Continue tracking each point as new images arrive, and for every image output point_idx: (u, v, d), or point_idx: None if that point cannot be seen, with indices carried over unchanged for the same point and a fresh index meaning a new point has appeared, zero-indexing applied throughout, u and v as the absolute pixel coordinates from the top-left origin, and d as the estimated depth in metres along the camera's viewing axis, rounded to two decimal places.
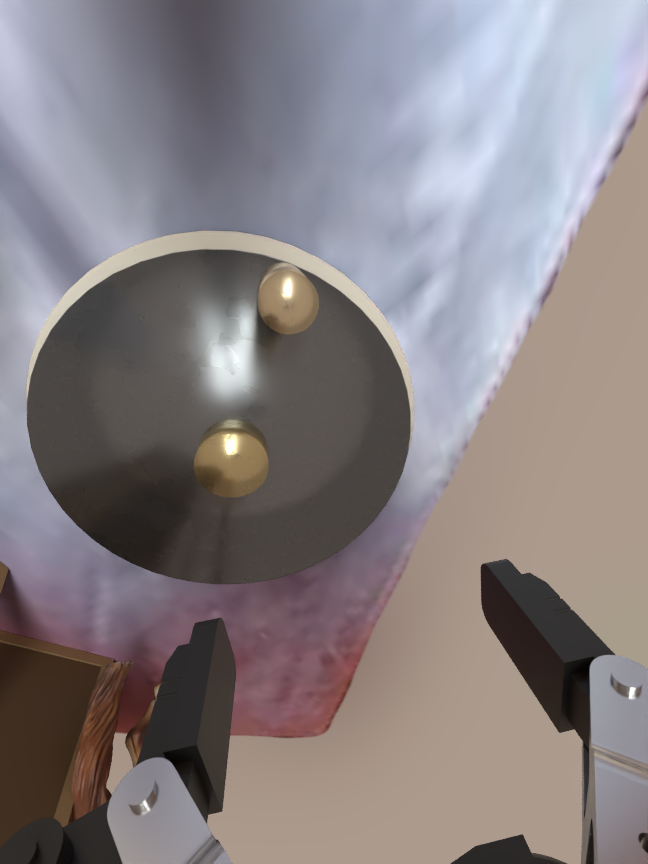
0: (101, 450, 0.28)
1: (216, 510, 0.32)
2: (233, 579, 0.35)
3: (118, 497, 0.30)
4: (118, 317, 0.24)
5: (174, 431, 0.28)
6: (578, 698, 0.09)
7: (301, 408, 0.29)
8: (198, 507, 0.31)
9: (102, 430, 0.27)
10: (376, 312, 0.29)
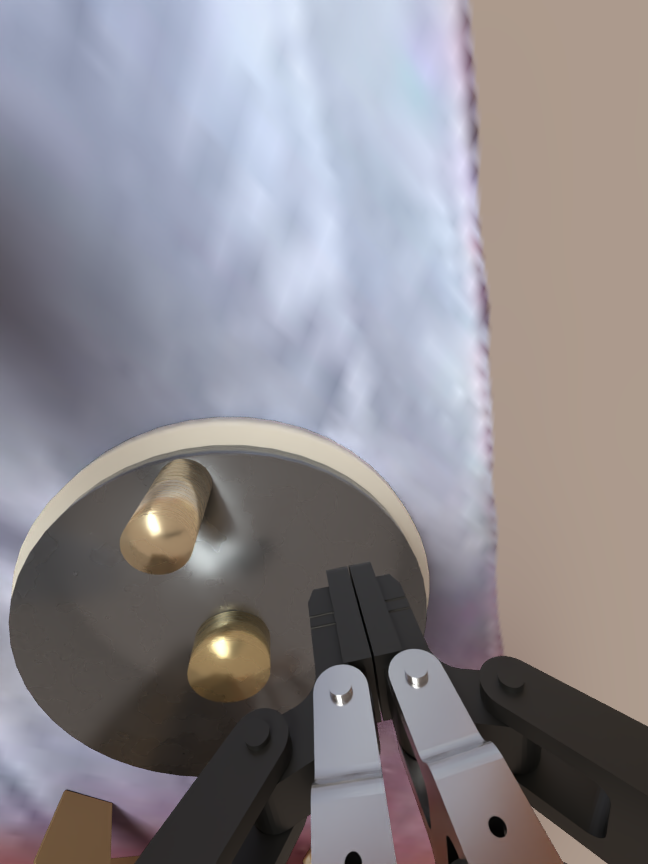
0: (113, 696, 0.27)
1: (251, 699, 0.29)
2: None
3: (153, 727, 0.29)
4: (56, 584, 0.24)
5: (166, 651, 0.26)
6: (387, 688, 0.09)
7: (274, 574, 0.26)
8: (232, 704, 0.29)
9: (102, 680, 0.27)
10: (300, 440, 0.25)
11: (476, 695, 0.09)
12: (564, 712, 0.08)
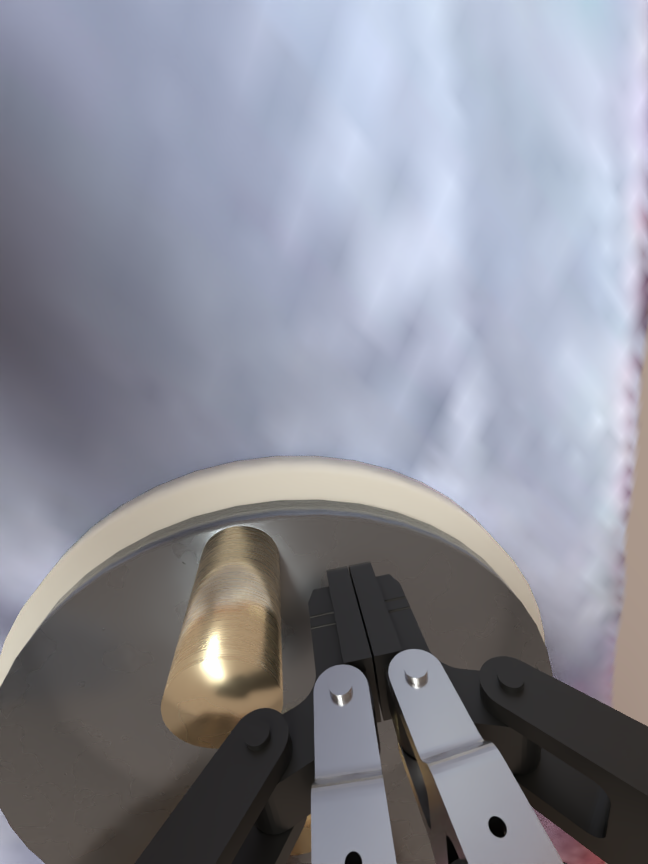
0: (130, 833, 0.20)
1: None
2: None
3: None
4: (54, 698, 0.17)
5: None
6: (387, 688, 0.09)
7: None
8: None
9: (116, 814, 0.19)
10: (396, 491, 0.18)
11: (476, 695, 0.09)
12: (564, 712, 0.08)
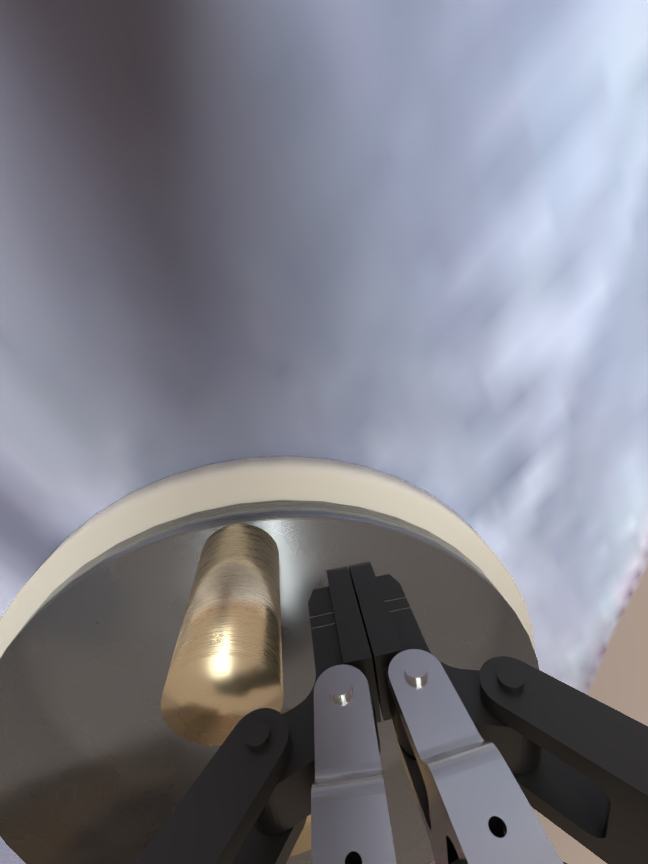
0: (111, 831, 0.20)
1: None
2: None
3: None
4: (43, 690, 0.17)
5: (190, 775, 0.19)
6: (387, 688, 0.09)
7: None
8: None
9: (99, 812, 0.19)
10: (465, 533, 0.19)
11: (476, 695, 0.09)
12: (564, 712, 0.08)
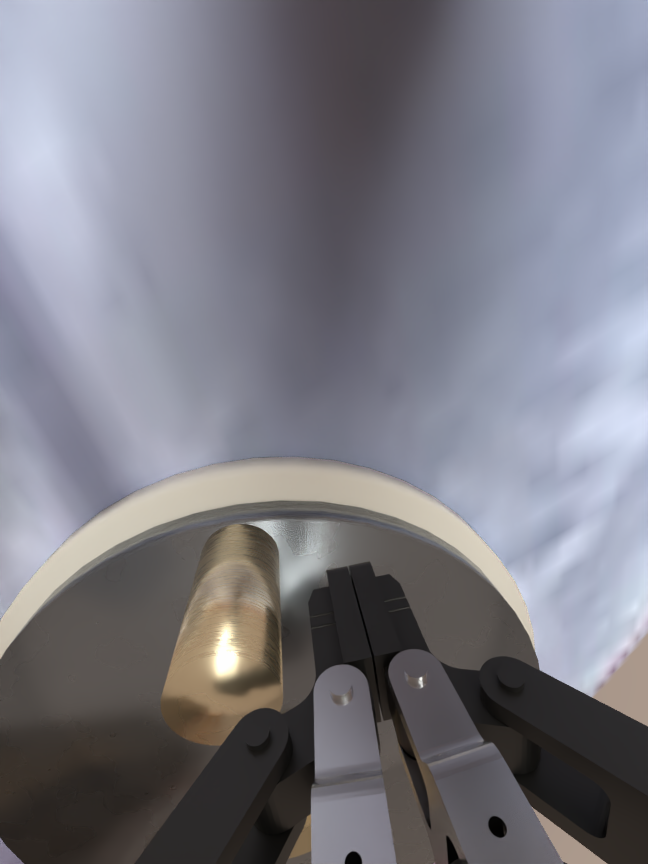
0: (111, 832, 0.20)
1: None
2: None
3: None
4: (43, 691, 0.17)
5: (190, 776, 0.19)
6: (387, 688, 0.09)
7: None
8: None
9: (98, 813, 0.19)
10: (508, 580, 0.20)
11: (476, 695, 0.09)
12: (564, 712, 0.08)
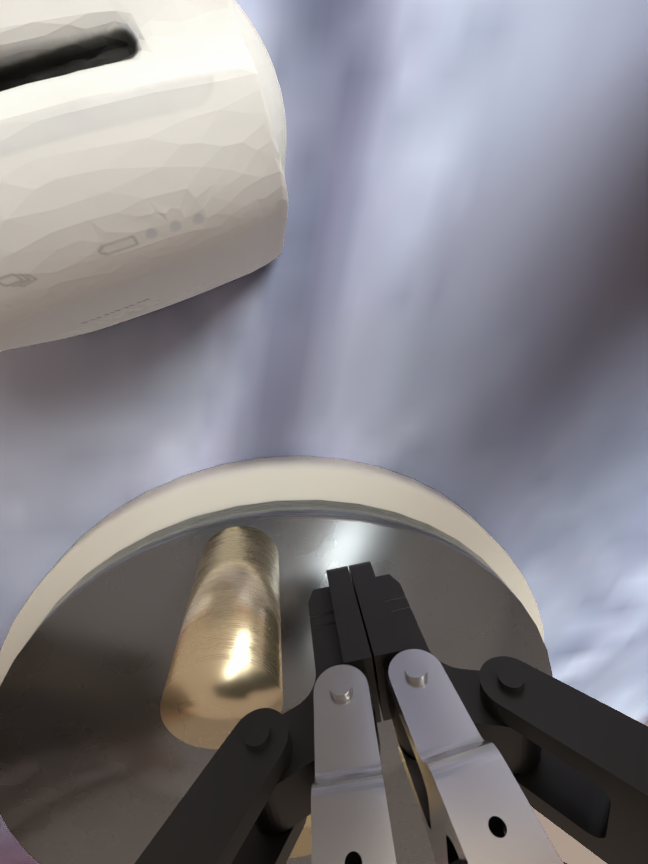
0: (129, 836, 0.20)
1: None
2: None
3: None
4: (53, 700, 0.17)
5: None
6: (387, 688, 0.09)
7: None
8: None
9: (116, 817, 0.19)
10: None
11: (476, 695, 0.09)
12: (564, 712, 0.08)
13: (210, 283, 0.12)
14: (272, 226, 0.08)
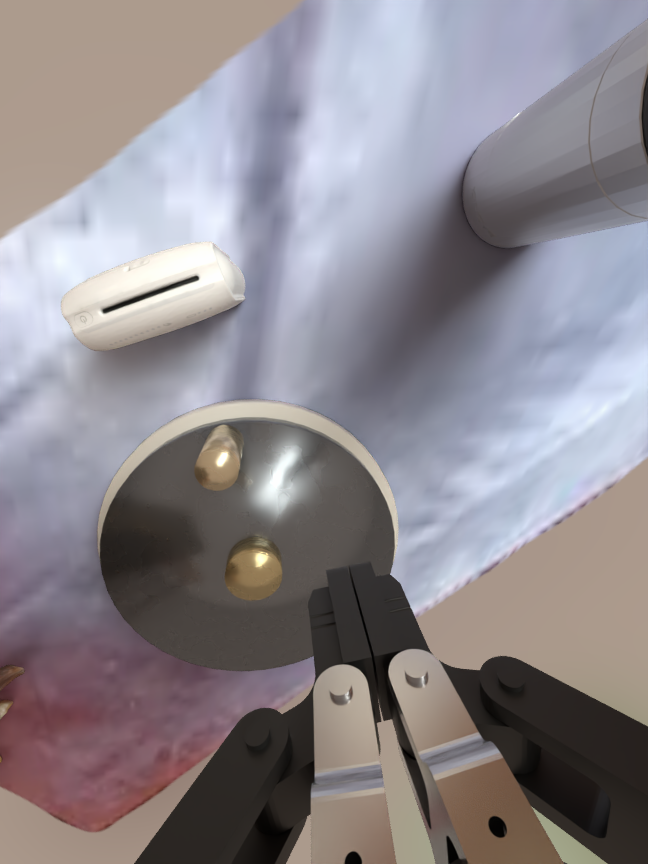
0: (167, 600, 0.38)
1: (266, 607, 0.39)
2: (309, 653, 0.42)
3: (195, 627, 0.39)
4: (134, 513, 0.34)
5: (207, 566, 0.37)
6: (387, 688, 0.09)
7: (285, 509, 0.36)
8: (252, 610, 0.39)
9: (161, 587, 0.37)
10: (396, 528, 0.41)
11: (476, 695, 0.09)
12: (564, 712, 0.08)
13: None
14: (232, 304, 0.26)
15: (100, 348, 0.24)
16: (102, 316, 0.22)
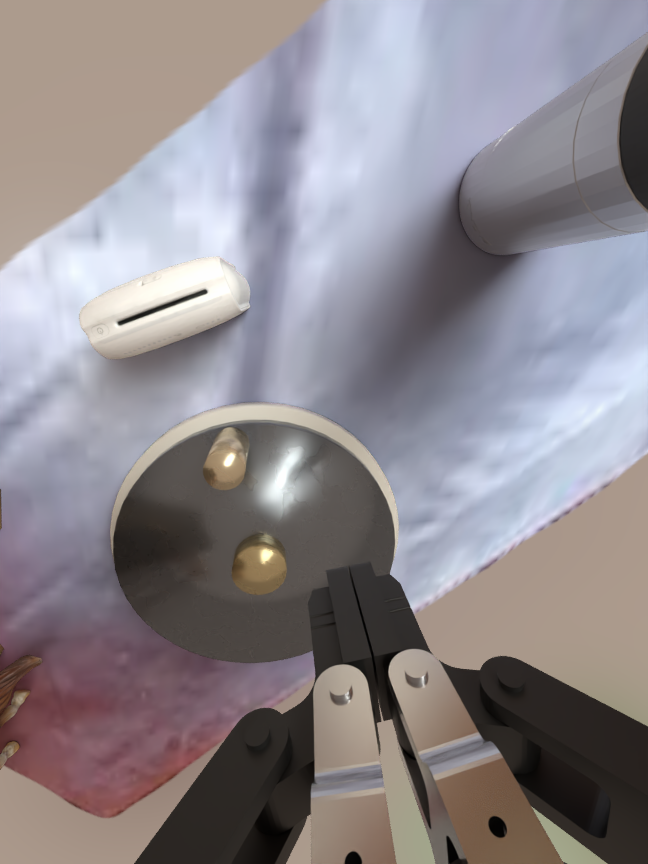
0: (177, 595, 0.39)
1: (272, 601, 0.41)
2: None
3: (203, 620, 0.41)
4: (146, 511, 0.36)
5: (215, 562, 0.39)
6: (387, 688, 0.09)
7: (289, 508, 0.38)
8: (258, 605, 0.41)
9: (171, 582, 0.39)
10: (396, 525, 0.42)
11: (476, 695, 0.09)
12: (564, 712, 0.08)
13: None
14: (238, 314, 0.27)
15: (115, 357, 0.26)
16: (118, 328, 0.24)
